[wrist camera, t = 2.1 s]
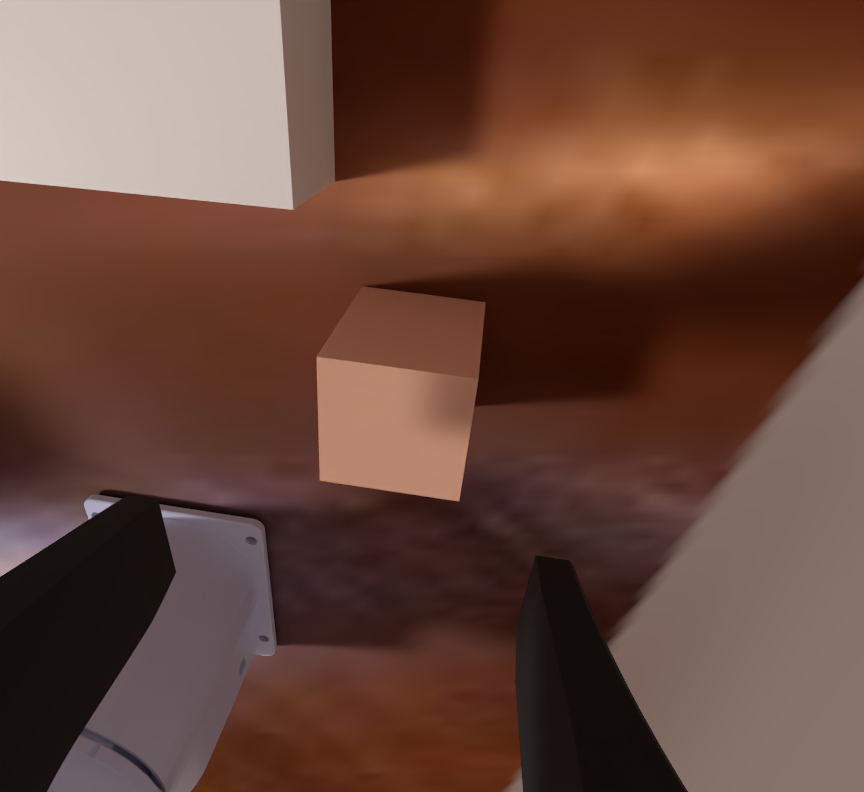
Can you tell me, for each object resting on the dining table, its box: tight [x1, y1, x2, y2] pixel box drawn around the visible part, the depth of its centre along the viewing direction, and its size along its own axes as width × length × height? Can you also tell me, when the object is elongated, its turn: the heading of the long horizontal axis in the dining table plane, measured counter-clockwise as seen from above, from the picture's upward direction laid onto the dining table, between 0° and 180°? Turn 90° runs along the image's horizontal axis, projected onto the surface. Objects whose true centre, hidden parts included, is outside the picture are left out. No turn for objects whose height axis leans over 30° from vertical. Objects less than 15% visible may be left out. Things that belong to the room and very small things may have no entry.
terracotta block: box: [317, 286, 486, 501], centre depth 16 cm, size 4×4×5 cm
